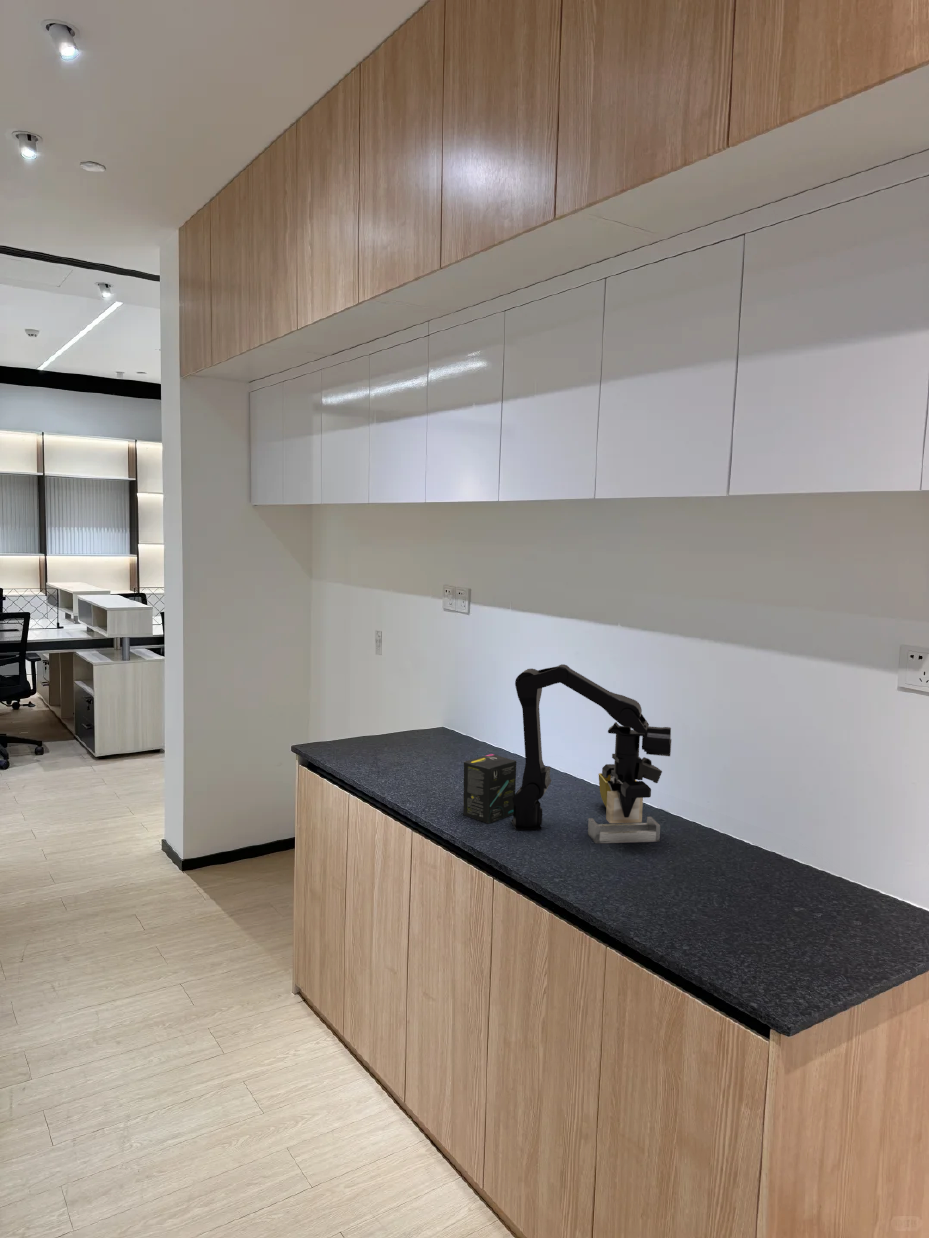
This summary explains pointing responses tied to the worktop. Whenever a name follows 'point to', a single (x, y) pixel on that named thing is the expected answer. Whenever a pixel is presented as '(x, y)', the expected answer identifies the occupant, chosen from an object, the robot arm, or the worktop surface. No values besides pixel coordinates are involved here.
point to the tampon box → (489, 788)
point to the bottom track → (624, 832)
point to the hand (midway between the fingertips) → (624, 814)
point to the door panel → (615, 810)
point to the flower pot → (604, 787)
